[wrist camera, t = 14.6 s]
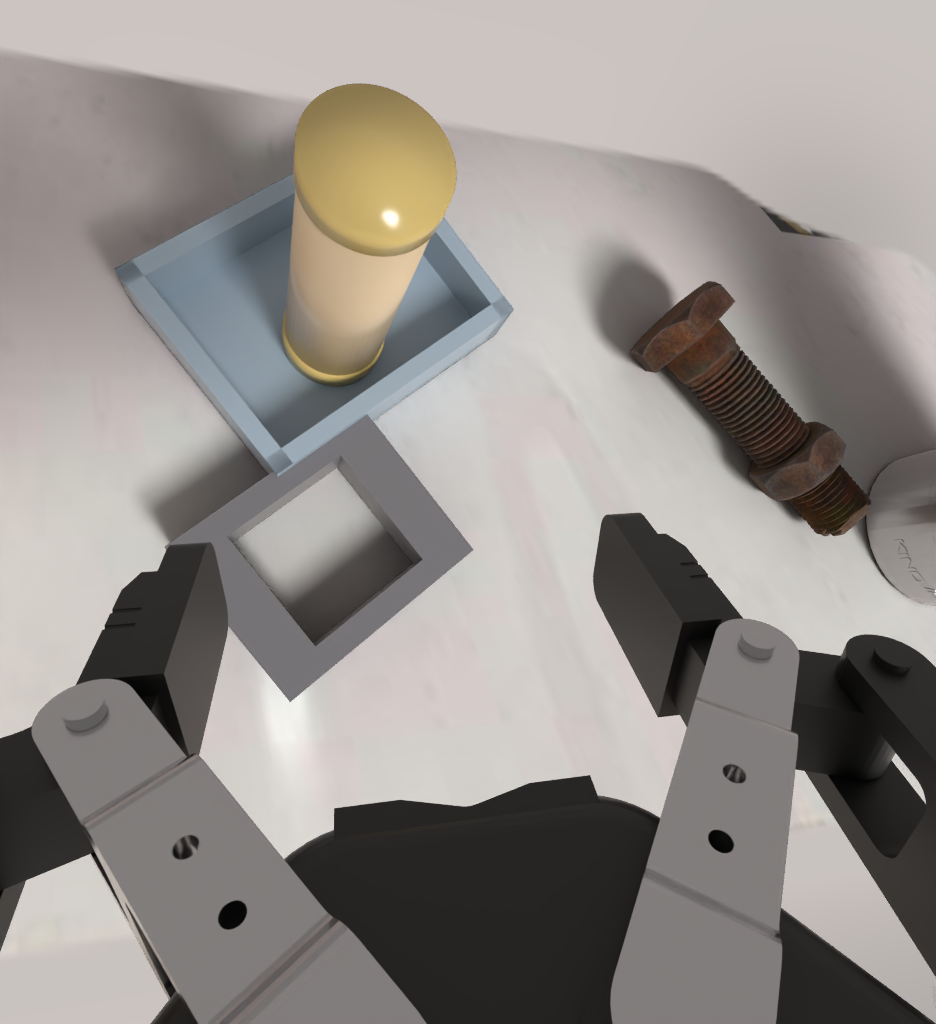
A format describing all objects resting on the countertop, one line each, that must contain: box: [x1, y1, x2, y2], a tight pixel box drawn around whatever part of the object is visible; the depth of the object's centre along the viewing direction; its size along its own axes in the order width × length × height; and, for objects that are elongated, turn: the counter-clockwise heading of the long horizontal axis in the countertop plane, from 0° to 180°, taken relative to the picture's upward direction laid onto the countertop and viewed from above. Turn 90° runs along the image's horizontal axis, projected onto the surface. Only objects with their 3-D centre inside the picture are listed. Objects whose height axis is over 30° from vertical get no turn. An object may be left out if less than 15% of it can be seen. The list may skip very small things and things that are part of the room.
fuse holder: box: [165, 414, 473, 702], centre depth 28 cm, size 10×8×2 cm
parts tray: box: [114, 174, 514, 477], centre depth 30 cm, size 14×11×3 cm
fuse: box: [282, 84, 456, 386], centre depth 24 cm, size 5×5×13 cm
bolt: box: [631, 281, 871, 536], centre depth 34 cm, size 6×5×15 cm
